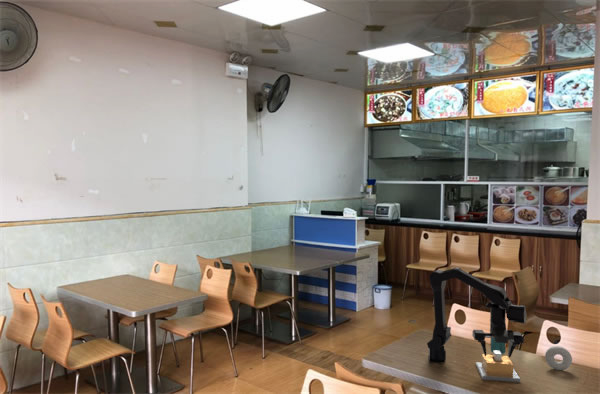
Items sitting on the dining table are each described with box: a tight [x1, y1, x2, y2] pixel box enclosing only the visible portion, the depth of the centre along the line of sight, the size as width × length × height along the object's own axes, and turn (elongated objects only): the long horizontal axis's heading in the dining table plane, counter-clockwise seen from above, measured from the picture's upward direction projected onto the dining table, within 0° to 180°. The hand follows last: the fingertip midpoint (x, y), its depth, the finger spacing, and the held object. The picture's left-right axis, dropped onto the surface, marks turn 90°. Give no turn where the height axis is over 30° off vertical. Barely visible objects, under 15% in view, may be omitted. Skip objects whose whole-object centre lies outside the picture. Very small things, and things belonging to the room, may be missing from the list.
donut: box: [544, 345, 573, 371], centre depth 192 cm, size 10×3×10 cm, turn 66°
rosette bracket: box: [475, 353, 521, 383], centre depth 189 cm, size 14×15×6 cm
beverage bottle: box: [489, 321, 507, 355], centre depth 209 cm, size 6×7×20 cm
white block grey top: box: [492, 350, 503, 362], centre depth 188 cm, size 2×4×9 cm, turn 168°
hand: (497, 356), depth 188 cm, fingers open, 9 cm apart
